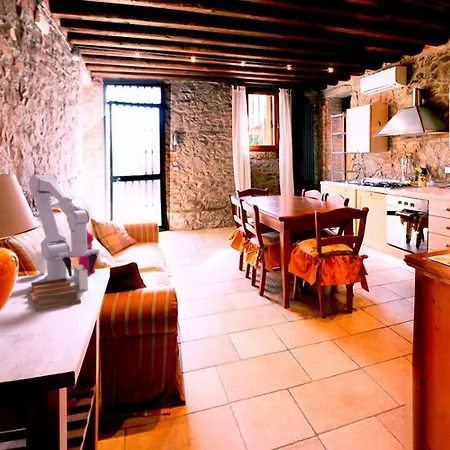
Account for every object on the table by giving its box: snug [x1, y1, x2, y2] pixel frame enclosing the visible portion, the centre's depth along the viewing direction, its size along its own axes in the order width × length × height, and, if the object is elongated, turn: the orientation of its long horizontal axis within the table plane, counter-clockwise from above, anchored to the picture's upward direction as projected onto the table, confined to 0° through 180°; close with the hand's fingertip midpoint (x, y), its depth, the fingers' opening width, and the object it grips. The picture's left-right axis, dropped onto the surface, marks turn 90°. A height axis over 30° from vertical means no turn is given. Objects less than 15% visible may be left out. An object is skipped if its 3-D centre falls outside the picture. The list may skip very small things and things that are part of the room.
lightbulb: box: [33, 249, 47, 275], centre depth 153 cm, size 6×6×11 cm
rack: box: [28, 277, 82, 312], centre depth 127 cm, size 20×14×4 cm
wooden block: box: [73, 264, 89, 292], centre depth 138 cm, size 9×3×8 cm, turn 35°
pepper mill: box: [78, 229, 97, 276], centre depth 156 cm, size 7×7×20 cm
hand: (80, 274), depth 138 cm, fingers open, 7 cm apart
